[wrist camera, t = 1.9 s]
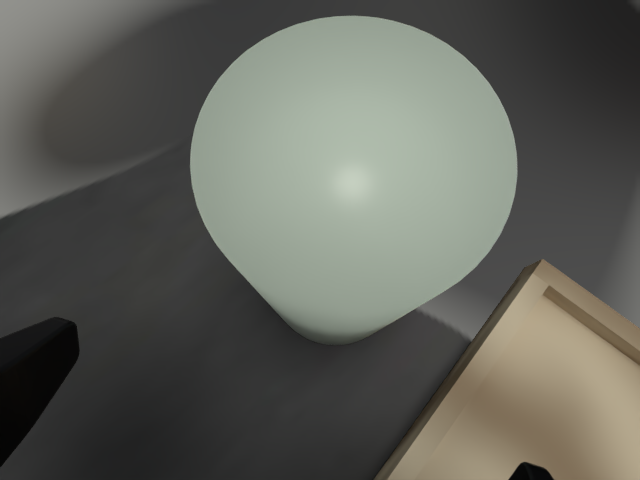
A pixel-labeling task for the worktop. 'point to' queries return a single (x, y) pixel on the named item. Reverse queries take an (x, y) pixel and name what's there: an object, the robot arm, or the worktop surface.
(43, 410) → the robot arm
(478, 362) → the tray
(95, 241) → the worktop surface
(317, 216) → the pillar candle
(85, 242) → the worktop surface
